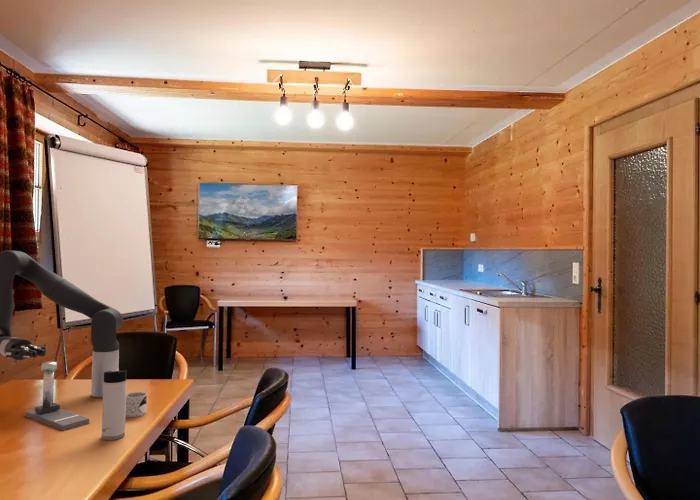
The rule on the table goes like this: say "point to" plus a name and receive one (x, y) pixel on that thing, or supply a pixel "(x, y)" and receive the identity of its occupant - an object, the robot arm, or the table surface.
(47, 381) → the fader
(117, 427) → the travel mug
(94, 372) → the robot arm
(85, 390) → the table surface
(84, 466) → the table surface
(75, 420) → the fader panel
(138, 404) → the mug
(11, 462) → the table surface
